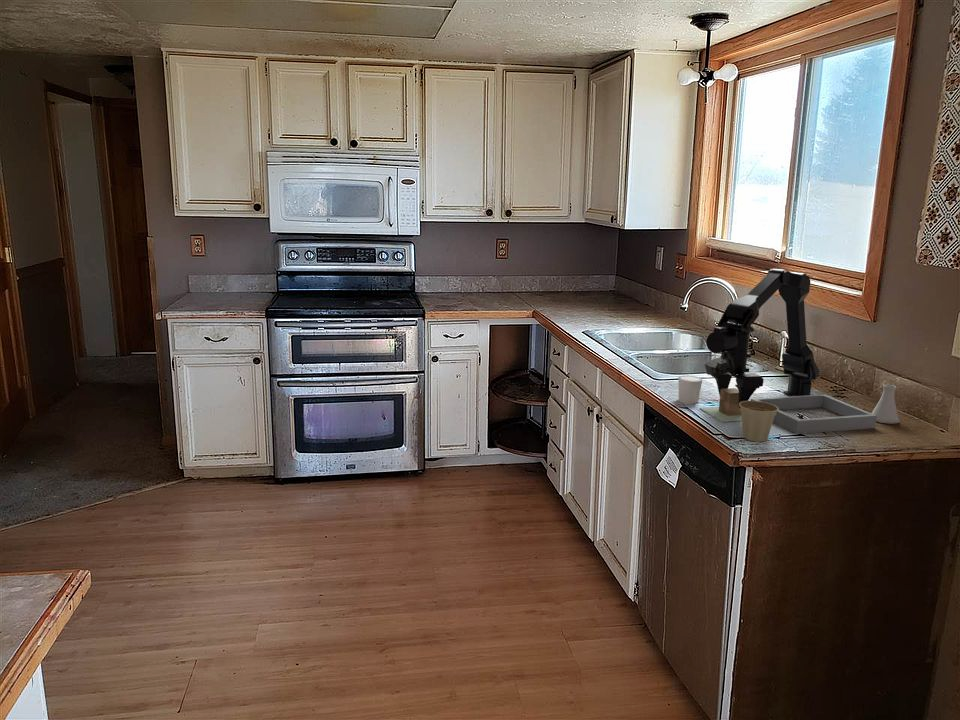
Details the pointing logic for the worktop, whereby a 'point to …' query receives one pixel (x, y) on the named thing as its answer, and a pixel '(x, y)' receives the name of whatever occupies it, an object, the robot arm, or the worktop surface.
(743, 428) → the flower pot
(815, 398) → the grey rimmed tray
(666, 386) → the worktop surface
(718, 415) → the mat
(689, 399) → the shot glass
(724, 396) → the walnut block
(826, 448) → the worktop surface
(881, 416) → the flask
